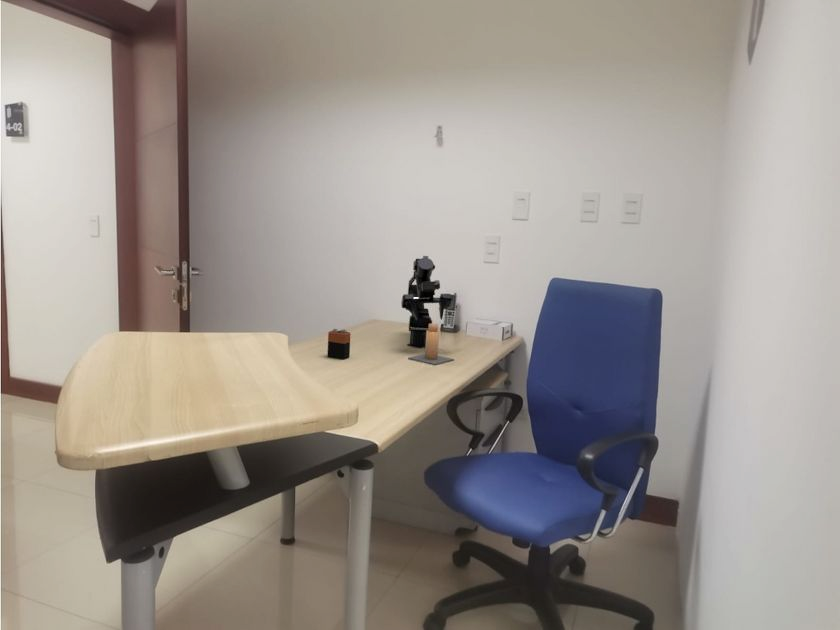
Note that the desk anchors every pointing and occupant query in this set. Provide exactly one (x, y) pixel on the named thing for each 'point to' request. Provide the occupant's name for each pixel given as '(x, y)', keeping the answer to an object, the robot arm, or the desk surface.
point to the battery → (338, 344)
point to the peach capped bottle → (432, 342)
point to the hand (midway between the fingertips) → (429, 319)
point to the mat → (434, 362)
